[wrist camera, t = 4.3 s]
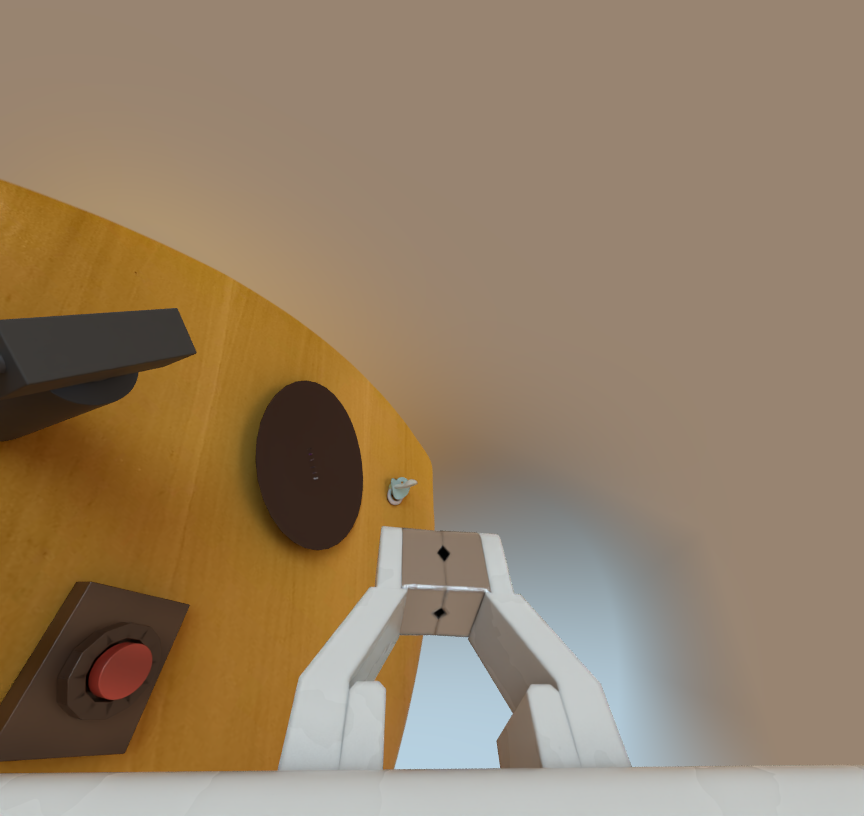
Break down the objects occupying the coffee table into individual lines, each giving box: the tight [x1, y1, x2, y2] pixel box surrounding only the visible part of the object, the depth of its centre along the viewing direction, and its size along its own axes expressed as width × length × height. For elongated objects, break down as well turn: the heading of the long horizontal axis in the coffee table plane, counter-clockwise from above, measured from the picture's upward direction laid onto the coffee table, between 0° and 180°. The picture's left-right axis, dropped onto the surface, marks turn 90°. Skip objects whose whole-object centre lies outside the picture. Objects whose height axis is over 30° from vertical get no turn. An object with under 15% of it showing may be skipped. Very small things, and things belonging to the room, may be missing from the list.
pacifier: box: [387, 477, 417, 505], centre depth 84 cm, size 7×6×6 cm
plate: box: [256, 381, 363, 550], centre depth 63 cm, size 28×28×4 cm
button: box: [88, 642, 152, 700], centre depth 33 cm, size 4×4×2 cm
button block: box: [0, 582, 190, 761], centre depth 34 cm, size 12×10×4 cm
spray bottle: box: [0, 308, 196, 441], centre depth 26 cm, size 10×6×22 cm, turn 131°
